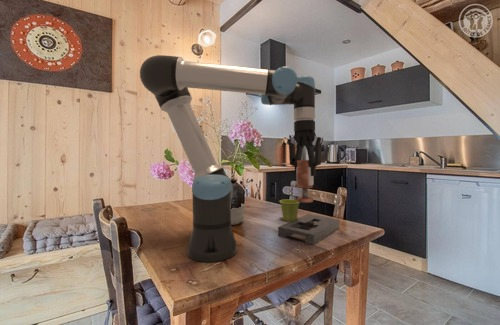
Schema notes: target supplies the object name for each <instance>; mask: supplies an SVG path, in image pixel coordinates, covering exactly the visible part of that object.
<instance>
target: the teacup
mask: <svg viewBox="0 0 500 325" xmlns="http://www.w3.org/2000/svg"><path fill="white" fill-rule="evenodd" d="M244 218H245V204H244V203H241V207H239V208H232V209H231V226H235V225H239V224H240V223H241V222H242V221H243V220H244Z"/></svg>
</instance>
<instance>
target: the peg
mask: <svg viewBox="0 0 500 325" xmlns="http://www.w3.org/2000/svg"><path fill="white" fill-rule="evenodd" d="M309 166H310V163H309V159H308V160H307V159H301V160H297V175H296V185H297V186H296V187H297V188H298V189H301V193H302V194H301V195H302V196H298V197H297V199H296V200H297V201H298V202H300V203H307V204H308V203H313V202H314V198H313V196H309V189H312V188H313V186H314V185H308V167H309Z"/></svg>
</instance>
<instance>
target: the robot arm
mask: <svg viewBox="0 0 500 325" xmlns="http://www.w3.org/2000/svg"><path fill="white" fill-rule="evenodd" d="M139 78H140V81H141V83H142V85H143V86H144V88H145V89H146V90H148V92H150V93H151V94H153V95H154V98H155V99H156V101H157V103H158V107H159V108H160V110H161V111H163V112H164V113H166V114H167V115H168V117H169V119H170V122H171V125H172V126H173V129H174V130H175V134H176V135H177V137H178V140H179V142H180V143H181V146H182V149H183V151H184V153H185V155H186V158H187V159H188V161H189V164H190V166H191V168H192V171H193V172H194V176H193V179H192V187H191V192H192V230H191V233H190V237H189V241H188V245H187V248H186V249H187V256H188V258H190V259H191V260H194V261H197V262H202V263H204V262H205V263H214V262H221V261H225V260H228V259H230V258H232V257H234V256H235V255H236V254H237V252H238V251H237V250H238V245H237V241H236V239H235V235H234V231H233V229H232V228H233V227H232V225H231V203H232V198H233V195H234V186H233V183H232V181H231V178H229V177H228V176H227V173H226V172H225V170H224V167H223V165H219V164H217V160H216V159H215V157H214V155H213V153H212V150H211V148H210V146H209V144H208V141H207V140H206V137H205V135H204V132H203V130H202V128H201V126H200V123H199V121H198V118H197V117H196V114H195V113H194V110H193V107H192V106H191V102H192V100H193V98H192V95H191V94H190V90H189V89H199V90H209V91H220V92H221V91H222V92H232V93H240V94H241V93H242V94H244V93H245V94H253V95H260V101H261V104H262V105H264V106H266V105H268V106H273V105H274V106H275V105H276V106H277V105H279V106H280V105H281V106H282V105H283V106H284V105H291V106H292V105H293V120H294V122H293V132H294V134H293V137H292V138H287V144H288V157H289V165H291V166H293V167H294V175H295V176H297V160H302V157H303V156H302V155H303V150H304V148H305V149H306V152H307V155H308V160H309V163H310V166H309V167H308V185H313V186H314V177H316V175H317V174H316V172H317V169H316V168H317V167H318V166H321V164H322V144H323V142H324V138H323V137H321V136H318V135H317V134H316V121H315V119H316V105H315V104H316V103H315V102H316V86H315V85H316V82H315V79H314V77H312V76H310V75H299V76H298V75H297V72H296V71H295V70H294V68H292V67H290V66H281V67H278V68H277V69H267V68H266V69H264V68H255V67H247V66H246V67H244V66H236V65H227V64H226V65H225V64H217V63H205V62H199V61H198V62H196V61H186V60H185V59H184V58H183V57H182V56H175V55H164V54H163V55H152V56H150V57H148V58H147V59H145V60H144V61H143V63H142V64H141V66H140V69H139ZM188 88H189V89H188ZM314 142H315V143H314ZM313 143H314V144H315V146H314V145H313Z"/></svg>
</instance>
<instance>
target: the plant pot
mask: <svg viewBox="0 0 500 325" xmlns="http://www.w3.org/2000/svg"><path fill="white" fill-rule="evenodd" d="M279 203H280V207H281V213H282V214H281V215H282V219H283V220H284V221H286V222H291V221H293V220H296V219H298V212H299V206H300V203H301V202H298V201H297V199H290V198H289V199H286V198H285V199H280V200H279Z"/></svg>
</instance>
